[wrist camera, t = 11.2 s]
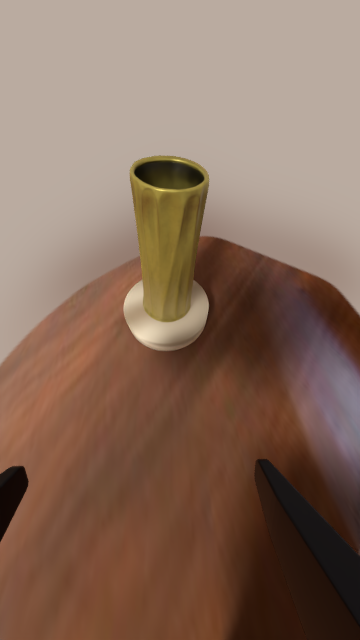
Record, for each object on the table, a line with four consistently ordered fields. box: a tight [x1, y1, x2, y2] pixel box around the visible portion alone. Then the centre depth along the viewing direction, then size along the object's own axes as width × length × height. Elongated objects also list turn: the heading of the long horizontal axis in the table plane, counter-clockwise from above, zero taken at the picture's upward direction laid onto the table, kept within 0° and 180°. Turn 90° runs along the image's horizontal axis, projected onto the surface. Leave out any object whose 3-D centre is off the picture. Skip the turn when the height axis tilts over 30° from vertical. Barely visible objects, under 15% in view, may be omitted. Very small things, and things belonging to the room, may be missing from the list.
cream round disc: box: [124, 280, 209, 351], centre depth 26 cm, size 11×11×3 cm
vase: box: [130, 156, 209, 322], centre depth 18 cm, size 6×6×14 cm
